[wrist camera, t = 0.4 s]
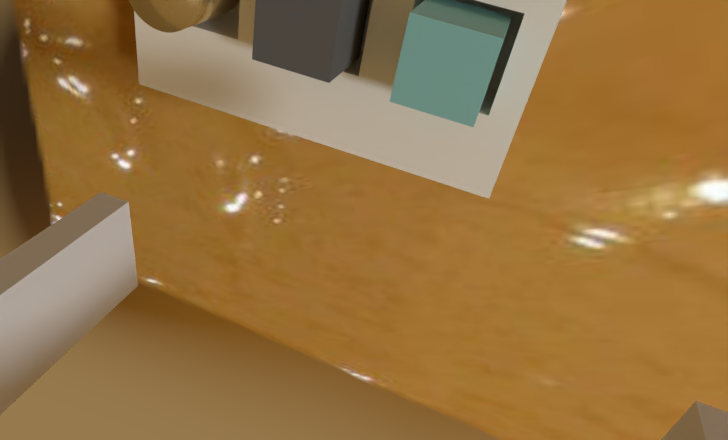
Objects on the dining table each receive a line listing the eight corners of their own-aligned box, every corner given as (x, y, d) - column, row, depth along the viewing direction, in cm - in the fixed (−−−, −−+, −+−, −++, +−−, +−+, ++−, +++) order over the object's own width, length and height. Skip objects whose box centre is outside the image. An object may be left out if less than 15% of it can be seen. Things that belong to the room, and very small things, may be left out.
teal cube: (431, -6, 25) (409, 12, 22) (512, 16, 25) (503, 38, 21) (412, 73, 28) (389, 101, 24) (485, 95, 27) (473, 127, 23)
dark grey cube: (299, -42, 26) (257, -31, 23) (373, -22, 26) (342, -7, 22) (291, 37, 29) (252, 59, 25) (359, 57, 28) (328, 83, 24)
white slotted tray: (182, -194, 28) (118, -207, 24) (597, -98, 24) (603, -94, 20) (186, 62, 36) (139, 84, 32) (497, 160, 33) (488, 198, 29)
